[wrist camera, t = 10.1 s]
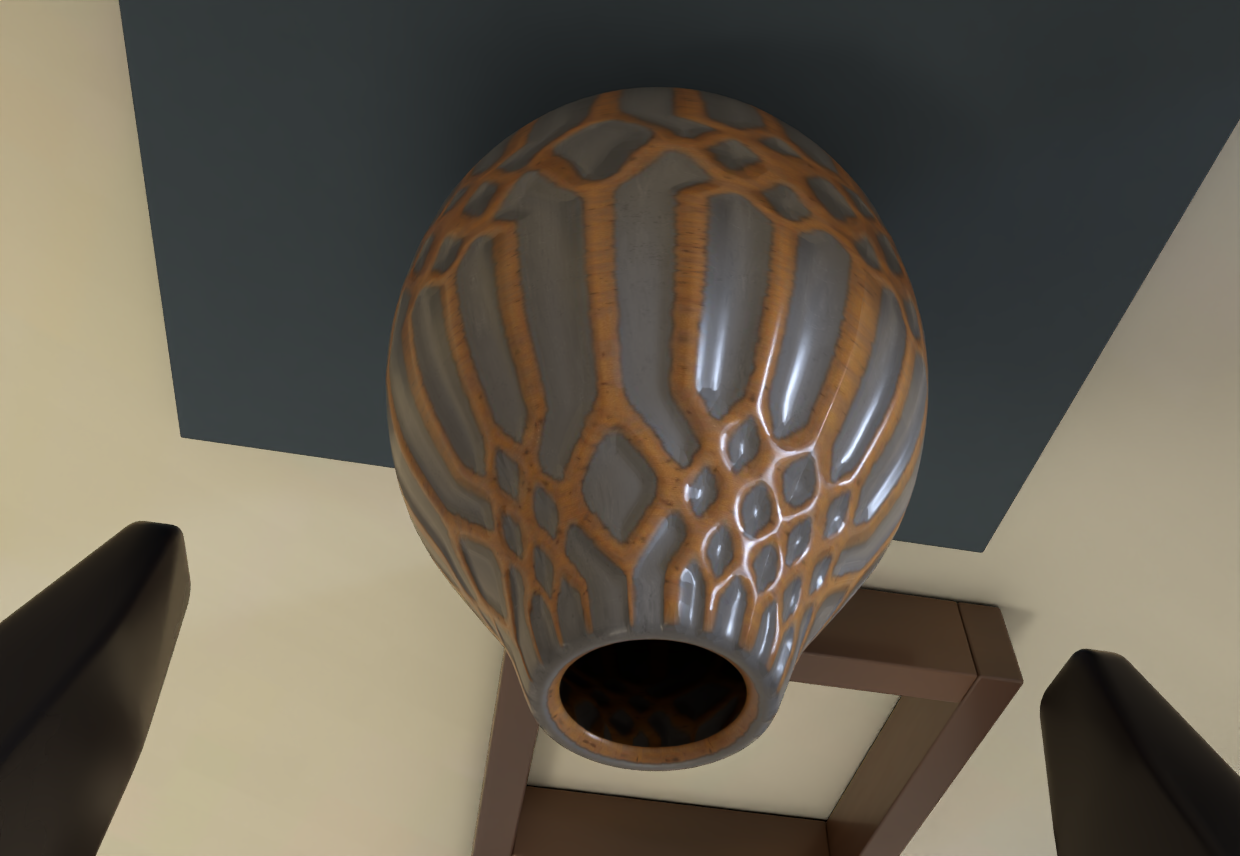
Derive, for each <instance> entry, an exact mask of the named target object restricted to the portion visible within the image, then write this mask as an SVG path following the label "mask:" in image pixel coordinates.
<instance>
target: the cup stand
mask: <svg viewBox="0 0 1240 856" xmlns="http://www.w3.org/2000/svg"><path fill="white" fill-rule="evenodd" d="M789 681H793V682H801V683H809V684H816V685H824V686H832V687H839V688H847V689H855V690H862V691H870V692H878V693H885V694H893V695H901V698H900V700H899V701H898V703H897V705H896V707H895V708H894V710H893V712H892V713H891V715H890V717H889V718H888V720H887V722H886V723H885V725H884V727H883V728H882V730H881V732H880V733H879V735H878V737H877V738H876V740H875V742H874V743H873V745H872V747H871V748H870V750H869V752H868V753H867V755H866V757H865V758H864V760H863V762H862V763H861V765H860V767H859V768H858V770H857V772H856V773H855V775H854V777H853V779H852V780H851V782H850V784H849V785H848V787H847V789H846V790H845V792H844V794H843V795H842V797H841V799H840V800H839V802H838V804H837V805H836V807H835V809H834V810H833V812H832V814H831V815H830V817H829V819H828V820H827V822H825V821H818V820H809V819H801V818H792V817H784V816H775V815H767V814H758V813H750V812H742V811H733V810H725V809H716V808H708V807H699V806H691V805H682V804H674V803H665V802H657V801H649V800H640V799H632V798H623V797H615V796H606V795H598V794H589V793H581V792H572V791H564V790H556V789H547V788H539V787H530V786H526V785H527V780H528V776H529V771H530V766H531V762H532V757H533V752H534V747H535V743H536V738H537V733H538V729H539V724H538V723H537V721H536V720H535V718H534V716H533V714H532V713H531V711H530V708H529V706H528V704H527V701H526V699H525V696H524V693H523V690H522V688H521V685H520V682H519V679H518V676H517V674H516V671H515V668H514V666H513V663H512V661H511V659H510V657H509V655H508V653H507V651H506V649H505V648H504V654H503V660H502V666H501V672H500V679H499V685H498V691H497V697H496V704H495V710H494V716H493V723H492V729H491V735H490V741H489V748H488V754H487V760H486V766H485V773H484V779H483V785H482V792H481V798H480V804H479V810H478V817H477V823H476V829H475V835H474V842H473V848H472V854H471V856H900V854H901V853H902V851H903V850H904V849H905V847H906V846H907V844H908V843H909V842H910V840H911V839H912V837H913V836H914V835H915V833H916V832H917V831H918V829H919V828H920V826H921V825H922V824H923V822H924V821H925V819H926V818H927V817H928V815H929V814H930V812H931V811H932V810H933V808H934V807H935V805H936V804H937V803H938V801H939V800H940V798H941V797H942V796H943V794H944V793H945V792H946V790H947V789H948V787H949V786H950V785H951V783H952V782H953V780H954V779H955V778H956V776H957V775H958V773H959V772H960V771H961V769H962V768H963V766H964V765H965V764H966V762H967V761H968V760H969V758H970V757H971V755H972V754H973V753H974V751H975V750H976V748H977V747H978V746H979V744H980V743H981V741H982V740H983V739H984V737H985V736H986V734H987V733H988V732H989V730H990V729H991V728H992V726H993V725H994V723H995V722H996V721H997V719H998V718H999V716H1000V715H1001V714H1002V712H1003V711H1004V709H1005V708H1006V707H1007V705H1008V704H1009V702H1010V701H1011V700H1012V698H1013V697H1014V696H1015V694H1016V693H1017V691H1018V690H1019V689H1020V687H1021V686H1022V684H1023V678H1022V674H1021V671H1020V668H1019V665H1018V662H1017V659H1016V656H1015V653H1014V650H1013V647H1012V644H1011V641H1010V638H1009V634H1008V631H1007V628H1006V625H1005V622H1004V619H1003V616H1002V613H1001V610H1000V608H998V607H991V606H984V605H977V604H970V603H963V602H958V603H956V602H955V601H949V600H942V599H934V598H927V597H920V596H913V595H906V594H899V593H891V592H884V591H877V590H870V589H863V588H859V589H858V590H857V592H856V593H855V594H854V595H853V596H852V598H851V599H850V600H849V601H848V602H847V603H846V605H845V606H844V607H843V608H842V609H841V610H840V611H839V613H838V614H837V615H836V616H835V617H834V618H833V619H832V620H831V621H830V623H829V624H828V625H827V626H826V627H825V628H824V629H823V630H822V631H821V632H820V633H819V635H818V636H817V637H816V638H815V639H814V640H813V641H812V642H811V643H810V644H809V645H808V646H807V648H806V649H805V650H804V651H803V652H802V654H801V656H800V658H799V660H798V661H797V663H796V665H795V667H794V670H793V672H792V675H791V677H790V680H789Z"/></svg>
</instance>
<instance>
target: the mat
mask: <svg viewBox="0 0 1240 856" xmlns="http://www.w3.org/2000/svg"><path fill="white" fill-rule="evenodd" d="M119 5H120V12H121V19H122V26H123V33H124V40H125V47H126V54H127V61H128V68H129V76H130V83H131V90H132V97H133V104H134V111H135V118H136V125H137V132H138V139H139V146H140V153H141V160H142V167H143V174H144V181H145V188H146V195H147V202H148V209H149V216H150V223H151V230H152V237H153V244H154V251H155V258H156V266H157V273H158V280H159V287H160V294H161V301H162V308H163V315H164V322H165V329H166V336H167V343H168V350H169V357H170V364H171V371H172V378H173V385H174V392H175V399H176V406H177V413H178V420H179V427H180V434H181V437H183V438H189V439H196V440H203V441H210V442H217V443H224V444H231V445H238V446H245V447H252V448H259V449H266V450H273V451H279V452H286V453H293V454H300V455H307V456H314V457H321V458H328V459H335V460H342V461H349V462H356V463H363V464H370V465H377V466H383V467H390V468H395V466H394V461H393V457H392V451H391V444H390V437H389V429H388V421H387V405H386V366H387V355H388V344H389V338H390V332H391V326H392V322H393V318H394V315H395V311H396V307H397V304H398V300H399V296H400V293H401V289H402V286H403V284H404V281H405V278H406V276H407V273H408V271H409V268H410V266H411V263H412V261H413V259H414V256H415V254H416V251H417V249H418V247H419V245H420V243H421V241H422V239H423V237H424V235H425V233H426V232H427V230H428V228H429V226H430V225H431V223H432V221H433V219H434V217H435V216H436V214H437V213H438V211H439V209H440V208H441V206H442V204H443V203H444V201H445V200H446V199H447V197H448V196H449V195H450V193H451V192H452V191H453V189H454V188H455V187H456V186H457V184H458V183H459V182H460V181H461V180H462V179H463V178H464V177H465V176H466V174H467V173H468V172H469V171H470V170H471V169H472V168H473V167H474V166H475V165H476V164H477V163H478V162H479V161H480V160H481V159H482V158H483V157H484V156H486V155H487V154H488V153H489V152H490V151H491V150H492V149H493V148H494V147H496V146H497V145H498V144H499V143H501V142H502V141H503V140H504V139H506V138H507V137H508V136H510V135H511V134H513V133H514V132H516V131H518V130H519V129H521V128H522V127H524V126H525V125H527V124H529V123H530V122H532V121H534V120H536V119H537V118H539V117H541V116H543V115H545V114H547V113H548V112H550V111H553V110H555V109H557V108H559V107H562V106H564V105H566V104H569V103H571V102H574V101H577V100H580V99H583V98H586V97H590V96H593V95H597V94H601V93H605V92H611V91H616V90H622V89H631V88H640V87H673V88H685V89H693V90H700V91H705V92H710V93H714V94H719V95H722V96H726V97H729V98H733V99H736V100H738V101H741V102H744V103H746V104H749V105H752V106H754V107H756V108H758V109H760V110H763V111H765V112H767V113H769V114H771V115H772V116H774V117H776V118H778V119H779V120H781V121H783V122H785V123H786V124H788V125H790V126H791V127H793V128H795V129H796V130H798V131H799V132H801V133H802V134H803V135H805V136H806V137H808V138H809V139H810V140H812V141H813V142H815V143H816V144H817V145H818V146H820V147H821V148H822V149H823V150H824V151H825V152H826V153H827V154H829V155H830V156H831V157H832V158H833V159H834V160H835V161H836V162H837V163H838V164H839V165H840V166H841V167H842V168H843V169H844V170H845V171H846V172H847V173H848V174H849V175H850V176H851V177H852V179H853V180H854V181H855V182H856V183H857V185H858V186H859V187H860V188H861V189H862V190H863V192H864V193H865V194H866V196H867V197H868V199H869V200H870V202H871V203H872V205H873V206H874V207H875V209H876V211H877V213H878V215H879V216H880V218H881V220H882V222H883V223H884V225H885V227H886V229H887V231H888V232H889V234H890V236H891V238H892V240H893V241H894V244H895V246H896V248H897V250H898V253H899V255H900V257H901V260H902V262H903V264H904V267H905V269H906V272H907V274H908V277H909V279H910V282H911V285H912V288H913V291H914V294H915V298H916V301H917V305H918V309H919V313H920V316H921V321H922V325H923V330H924V335H925V343H926V352H927V364H928V409H927V420H926V429H925V436H924V443H923V450H922V455H921V460H920V465H919V469H918V473H917V477H916V481H915V485H914V488H913V491H912V495H911V498H910V500H909V503H908V506H907V508H906V511H905V513H904V516H903V518H902V521H901V523H900V526H899V528H898V530H897V532H896V534H895V536H894V537H893V539H892V540H897V541H904V542H911V543H918V544H925V545H932V546H938V547H945V548H952V549H959V550H966V551H973V552H980V553H982V552H983V551H984V550H985V548H986V546H987V544H988V543H989V541H990V539H991V538H992V536H993V534H994V533H995V531H996V529H997V528H998V526H999V524H1000V523H1001V521H1002V519H1003V517H1004V516H1005V514H1006V512H1007V511H1008V509H1009V507H1010V506H1011V504H1012V502H1013V501H1014V499H1015V497H1016V496H1017V494H1018V492H1019V491H1020V489H1021V487H1022V485H1023V484H1024V482H1025V480H1026V479H1027V477H1028V475H1029V474H1030V472H1031V470H1032V469H1033V467H1034V465H1035V464H1036V462H1037V460H1038V458H1039V457H1040V455H1041V453H1042V452H1043V450H1044V448H1045V447H1046V445H1047V443H1048V442H1049V440H1050V438H1051V437H1052V435H1053V433H1054V431H1055V430H1056V428H1057V426H1058V425H1059V423H1060V421H1061V420H1062V418H1063V416H1064V415H1065V413H1066V411H1067V410H1068V408H1069V406H1070V404H1071V403H1072V401H1073V399H1074V398H1075V396H1076V394H1077V393H1078V391H1079V389H1080V388H1081V386H1082V384H1083V383H1084V381H1085V379H1086V377H1087V376H1088V374H1089V372H1090V371H1091V369H1092V367H1093V366H1094V364H1095V362H1096V361H1097V359H1098V357H1099V356H1100V354H1101V352H1102V350H1103V349H1104V347H1105V345H1106V344H1107V342H1108V340H1109V339H1110V337H1111V335H1112V334H1113V332H1114V330H1115V329H1116V327H1117V325H1118V323H1119V322H1120V320H1121V318H1122V317H1123V315H1124V313H1125V312H1126V310H1127V308H1128V307H1129V305H1130V303H1131V302H1132V300H1133V298H1134V296H1135V295H1136V293H1137V291H1138V290H1139V288H1140V286H1141V285H1142V283H1143V281H1144V280H1145V278H1146V276H1147V275H1148V273H1149V271H1150V269H1151V268H1152V266H1153V264H1154V263H1155V261H1156V259H1157V258H1158V256H1159V254H1160V253H1161V251H1162V249H1163V248H1164V246H1165V244H1166V242H1167V241H1168V239H1169V237H1170V236H1171V234H1172V232H1173V231H1174V229H1175V227H1176V226H1177V224H1178V222H1179V221H1180V219H1181V217H1182V215H1183V214H1184V212H1185V210H1186V209H1187V207H1188V205H1189V204H1190V202H1191V200H1192V199H1193V197H1194V195H1195V194H1196V192H1197V190H1198V188H1199V187H1200V185H1201V183H1202V182H1203V180H1204V178H1205V177H1206V175H1207V173H1208V172H1209V170H1210V168H1211V167H1212V165H1213V163H1214V161H1215V160H1216V158H1217V156H1218V155H1219V153H1220V151H1221V150H1222V148H1223V146H1224V145H1225V143H1226V141H1227V140H1228V138H1229V136H1230V135H1231V133H1232V131H1233V129H1234V128H1235V126H1236V124H1237V123H1238V121H1239V119H1240V0H119Z"/></svg>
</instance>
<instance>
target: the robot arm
mask: <svg viewBox="0 0 1240 856" xmlns="http://www.w3.org/2000/svg"><path fill="white" fill-rule="evenodd" d="M190 586H191V582H190V575H189V568H188V561H187V555H186V548H185V542H184V536H183V533H182V531H181V530H180V528H179V527H177V526H174V525H170V524H162V523H155V522H148V521H137V522H134V523H132V524H130V525H128V526H127V527H125V528H124V529H123V530H121V531H120V532H119V533H117V534H116V535H115V536H114V537H112V538H111V539H110V540H108V541H107V542H106V543H104V544H103V545H102V546H100V547H99V548H98V549H96V550H95V551H94V552H93V553H91V554H90V555H89V556H87V557H86V558H85V559H83V560H82V561H81V562H79V563H78V564H77V565H75V566H74V567H73V568H72V569H70V570H69V571H68V572H66V573H65V574H64V575H62V576H61V577H60V578H58V579H57V580H56V581H54V582H53V583H52V584H51V585H49V586H48V587H47V588H45V589H44V590H43V591H41V592H40V593H39V594H37V595H36V596H35V597H34V598H32V599H31V600H30V601H28V602H27V603H26V604H24V605H23V606H22V607H20V608H19V609H18V610H16V611H15V612H14V613H13V614H11V615H10V616H9V617H7V618H6V619H5V620H3V621H2V622H1V623H0V856H96V854H97V852H98V849H99V847H100V845H101V843H102V840H103V838H104V836H105V834H106V831H107V829H108V827H109V825H110V822H111V820H112V818H113V816H114V813H115V811H116V809H117V807H118V804H119V802H120V800H121V798H122V795H123V793H124V791H125V789H126V786H127V784H128V782H129V780H130V778H131V775H132V773H133V771H134V768H135V766H136V763H137V761H138V758H139V756H140V754H141V751H142V749H143V746H144V743H145V740H146V737H147V734H148V731H149V728H150V724H151V721H152V718H153V715H154V712H155V708H156V705H157V702H158V699H159V696H160V692H161V689H162V686H163V683H164V680H165V676H166V673H167V670H168V667H169V663H170V660H171V657H172V654H173V651H174V647H175V644H176V641H177V638H178V635H179V631H180V628H181V625H182V622H183V619H184V615H185V612H186V609H187V605H188V601H189V596H190ZM1040 720H1041V729H1042V737H1043V745H1044V754H1045V762H1046V771H1047V779H1048V787H1049V796H1050V804H1051V812H1052V821H1053V829H1054V836H1055V843H1056V849H1057V856H1240V776H1239V775H1238V774H1237V773H1236V772H1235V771H1234V770H1233V769H1232V768H1231V767H1230V766H1229V765H1228V764H1227V763H1226V762H1225V761H1224V760H1223V759H1222V758H1221V757H1220V756H1219V755H1218V754H1217V753H1216V752H1215V751H1214V749H1213V748H1212V747H1211V746H1210V745H1209V744H1208V743H1207V742H1206V741H1205V740H1204V739H1203V738H1202V737H1201V736H1200V735H1199V734H1198V733H1197V732H1196V731H1195V730H1194V729H1193V728H1192V727H1191V726H1190V725H1189V724H1188V722H1187V721H1186V720H1185V719H1184V718H1183V717H1182V716H1181V715H1180V714H1179V713H1178V712H1177V711H1176V710H1175V709H1174V708H1173V707H1172V706H1171V705H1170V704H1169V703H1168V702H1167V701H1166V700H1165V699H1164V698H1163V697H1162V696H1161V694H1160V693H1159V692H1158V691H1157V690H1156V689H1155V688H1154V687H1153V686H1152V685H1151V684H1150V683H1149V682H1148V681H1147V680H1146V679H1145V678H1144V677H1143V676H1142V675H1141V674H1140V673H1139V672H1138V671H1137V670H1136V669H1135V667H1134V666H1133V665H1132V664H1131V663H1130V662H1129V661H1128V660H1126V659H1125V658H1124V657H1123V656H1121V655H1119V654H1117V653H1113V652H1107V651H1099V650H1092V649H1081V650H1079V651H1077V652H1075V653H1074V654H1073V655H1072V656H1071V657H1070V659H1069V660H1068V661H1067V663H1066V664H1065V665H1064V667H1063V668H1062V669H1061V671H1060V672H1059V673H1058V675H1057V676H1056V677H1055V679H1054V680H1053V681H1052V683H1051V684H1050V685H1049V687H1048V688H1047V689H1046V691H1045V693H1044V695H1043V698H1042V700H1041V705H1040Z"/></svg>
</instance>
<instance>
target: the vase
mask: <svg viewBox="0 0 1240 856" xmlns="http://www.w3.org/2000/svg"><path fill="white" fill-rule="evenodd" d="M386 405H387V421H388V429H389V437H390V444H391V451H392V457H393V461H394V466H395V470H396V474H397V478H398V482H399V486H400V490H401V493H402V495H403V498H404V501H405V504H406V506H407V509H408V512H409V515H410V518H411V520H412V522H413V524H414V527H415V529H416V531H417V533H418V535H419V536H420V538H421V540H422V542H423V544H424V545H425V547H426V549H427V551H428V552H429V554H430V556H431V557H432V559H433V561H434V562H435V564H436V565H437V566H438V568H439V569H440V571H441V572H442V573H443V575H444V576H445V577H446V579H447V580H448V581H449V583H450V584H451V585H452V587H453V588H454V589H455V590H456V591H457V593H458V594H459V595H460V596H461V597H462V599H463V600H464V601H465V602H466V603H467V605H468V606H469V607H470V608H471V609H472V611H473V612H474V613H475V614H476V615H477V616H478V618H479V619H480V620H481V621H482V622H483V624H484V625H485V626H486V627H487V628H488V629H489V630H490V631H491V633H492V634H493V635H494V636H495V637H496V638H497V639H498V640H499V641H500V643H501V644H502V645H503V646H504V648H505V649H506V651H507V653H508V655H509V657H510V659H511V661H512V663H513V666H514V668H515V671H516V674H517V676H518V679H519V682H520V685H521V688H522V690H523V693H524V696H525V699H526V701H527V704H528V706H529V708H530V711H531V713H532V714H533V716H534V718H535V720H536V721H537V723H538V724H539V725H540V727H541V728H542V729H543V730H544V731H545V732H546V733H547V734H548V735H549V736H550V737H551V738H552V739H553V740H555V741H556V742H557V743H559V744H560V745H562V746H563V747H565V748H566V749H568V750H570V751H572V752H574V753H576V754H578V755H580V756H582V757H585V758H587V759H590V760H592V761H595V762H598V763H602V764H605V765H609V766H614V767H619V768H624V769H631V770H641V771H670V770H680V769H687V768H693V767H698V766H702V765H706V764H709V763H713V762H716V761H719V760H721V759H724V758H726V757H728V756H731V755H733V754H735V753H737V752H739V751H740V750H742V749H744V748H745V747H747V746H748V745H750V744H751V743H753V742H754V741H755V740H756V739H757V738H758V737H759V736H760V735H761V734H762V733H763V732H764V731H765V730H766V729H767V728H768V726H769V725H770V723H771V722H772V720H773V718H774V717H775V715H776V713H777V711H778V708H779V706H780V704H781V701H782V698H783V696H784V693H785V690H786V688H787V685H788V682H789V680H790V677H791V675H792V672H793V670H794V667H795V665H796V663H797V661H798V660H799V658H800V656H801V654H802V652H803V651H804V650H805V649H806V648H807V646H808V645H809V644H810V643H811V642H812V641H813V640H814V639H815V638H816V637H817V636H818V635H819V633H820V632H821V631H822V630H823V629H824V628H825V627H826V626H827V625H828V624H829V623H830V621H831V620H832V619H833V618H834V617H835V616H836V615H837V614H838V613H839V611H840V610H841V609H842V608H843V607H844V606H845V605H846V603H847V602H848V601H849V600H850V599H851V598H852V596H853V595H854V594H855V593H856V592H857V590H858V589H859V588H860V587H861V585H862V584H863V583H864V582H865V580H866V579H867V578H868V576H869V575H870V574H871V573H872V571H873V570H874V569H875V567H876V566H877V564H878V563H879V561H880V560H881V558H882V557H883V555H884V553H885V551H886V550H887V548H888V546H889V545H890V543H891V541H892V539H893V537H894V536H895V534H896V532H897V530H898V528H899V526H900V523H901V521H902V518H903V516H904V513H905V511H906V508H907V506H908V503H909V500H910V498H911V495H912V491H913V488H914V485H915V481H916V477H917V473H918V469H919V465H920V460H921V455H922V450H923V443H924V436H925V429H926V420H927V409H928V364H927V352H926V343H925V335H924V330H923V325H922V321H921V316H920V313H919V309H918V305H917V301H916V298H915V294H914V291H913V288H912V285H911V282H910V279H909V277H908V274H907V272H906V269H905V267H904V264H903V262H902V260H901V257H900V255H899V253H898V250H897V248H896V246H895V244H894V241H893V240H892V238H891V236H890V234H889V232H888V231H887V229H886V227H885V225H884V223H883V222H882V220H881V218H880V216H879V215H878V213H877V211H876V209H875V207H874V206H873V205H872V203H871V202H870V200H869V199H868V197H867V196H866V194H865V193H864V192H863V190H862V189H861V188H860V187H859V186H858V185H857V183H856V182H855V181H854V180H853V179H852V177H851V176H850V175H849V174H848V173H847V172H846V171H845V170H844V169H843V168H842V167H841V166H840V165H839V164H838V163H837V162H836V161H835V160H834V159H833V158H832V157H831V156H830V155H829V154H827V153H826V152H825V151H824V150H823V149H822V148H821V147H820V146H818V145H817V144H816V143H815V142H813V141H812V140H810V139H809V138H808V137H806V136H805V135H803V134H802V133H801V132H799V131H798V130H796V129H795V128H793V127H791V126H790V125H788V124H786V123H785V122H783V121H781V120H779V119H778V118H776V117H774V116H772V115H771V114H769V113H767V112H765V111H763V110H760V109H758V108H756V107H754V106H752V105H749V104H746V103H744V102H741V101H738V100H736V99H733V98H729V97H726V96H722V95H719V94H714V93H710V92H705V91H700V90H693V89H685V88H673V87H640V88H631V89H622V90H616V91H611V92H605V93H601V94H597V95H593V96H590V97H586V98H583V99H580V100H577V101H574V102H571V103H569V104H566V105H564V106H562V107H559V108H557V109H555V110H553V111H550V112H548V113H547V114H545V115H543V116H541V117H539V118H537V119H536V120H534V121H532V122H530V123H529V124H527V125H525V126H524V127H522V128H521V129H519V130H518V131H516V132H514V133H513V134H511V135H510V136H508V137H507V138H506V139H504V140H503V141H502V142H501V143H499V144H498V145H497V146H496V147H494V148H493V149H492V150H491V151H490V152H489V153H488V154H487V155H486V156H484V157H483V158H482V159H481V160H480V161H479V162H478V163H477V164H476V165H475V166H474V167H473V168H472V169H471V170H470V171H469V172H468V173H467V174H466V176H465V177H464V178H463V179H462V180H461V181H460V182H459V183H458V184H457V186H456V187H455V188H454V189H453V191H452V192H451V193H450V195H449V196H448V197H447V199H446V200H445V201H444V203H443V204H442V206H441V208H440V209H439V211H438V213H437V214H436V216H435V217H434V219H433V221H432V223H431V225H430V226H429V228H428V230H427V232H426V233H425V235H424V237H423V239H422V241H421V243H420V245H419V247H418V249H417V251H416V254H415V256H414V259H413V261H412V263H411V266H410V268H409V271H408V273H407V276H406V278H405V281H404V284H403V286H402V289H401V293H400V296H399V300H398V304H397V307H396V311H395V315H394V318H393V322H392V326H391V332H390V338H389V344H388V355H387V366H386Z"/></svg>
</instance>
